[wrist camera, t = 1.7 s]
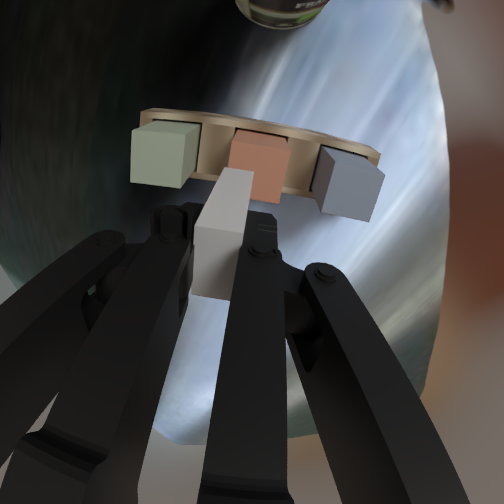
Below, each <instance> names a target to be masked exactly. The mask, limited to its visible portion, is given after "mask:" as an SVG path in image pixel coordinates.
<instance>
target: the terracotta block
mask: <svg viewBox="0 0 504 504" xmlns="http://www.w3.org/2000/svg"><path fill="white" fill-rule="evenodd" d="M290 153H291V150H290V148H289V146H288V143H287V141H286V139H285V137H282V136H277V135H271V134H266V133H260V132H255V131H249V130H242V129H238V130H237V132H236V134H235V136H234V138H233V140H232V144H231V150H230V156H229V163H228V168H234V169H240V170H247V171H253V172H254V176H253V182H252V188H251V194H250V199H253V200H259V201H264V202H270V203H276V204H279V202H280V197H281V193H282V188H283V184H284V180H285V175H286V171H287V166H288V162H289V157H290Z"/></svg>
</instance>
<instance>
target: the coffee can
mask: <svg viewBox="0 0 504 504" xmlns="http://www.w3.org/2000/svg"><path fill="white" fill-rule="evenodd" d="M328 1H329V0H235V2H236V4H237V6H238V8H239V9H240V11H241V12H242V13H243V14H244V15H245V16H246V17H247V18H248V19H249V20H251V21H252V22H254V23H256V24H258V25H261V26H263V27H267V28H271V29H280V30H287V29H294V28H298V27H301V26H303V25H306V24H308V23H309V22H311V21H312V20H314V19H315V18H316V17H317V16H318V15H319V13H320V12H321V10H322V9H323V7H324V6H325V5H326V4H327V3H328Z"/></svg>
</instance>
